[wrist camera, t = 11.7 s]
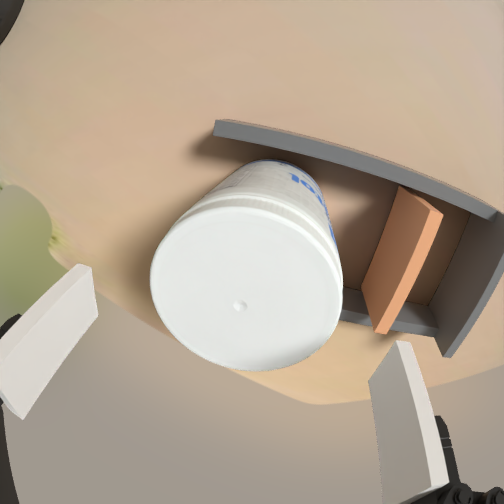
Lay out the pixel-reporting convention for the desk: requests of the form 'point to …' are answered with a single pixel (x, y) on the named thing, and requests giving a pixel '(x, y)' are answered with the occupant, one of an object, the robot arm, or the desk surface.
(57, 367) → the robot arm
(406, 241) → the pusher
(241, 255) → the supplement tub
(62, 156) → the desk surface
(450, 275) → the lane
